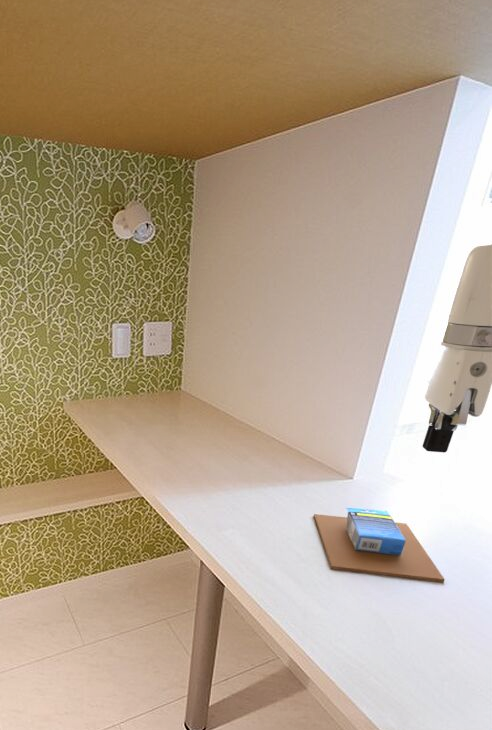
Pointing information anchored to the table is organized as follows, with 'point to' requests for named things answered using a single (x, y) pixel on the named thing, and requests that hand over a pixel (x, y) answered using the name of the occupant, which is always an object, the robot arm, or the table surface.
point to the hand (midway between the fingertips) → (434, 449)
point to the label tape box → (374, 531)
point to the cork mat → (374, 553)
